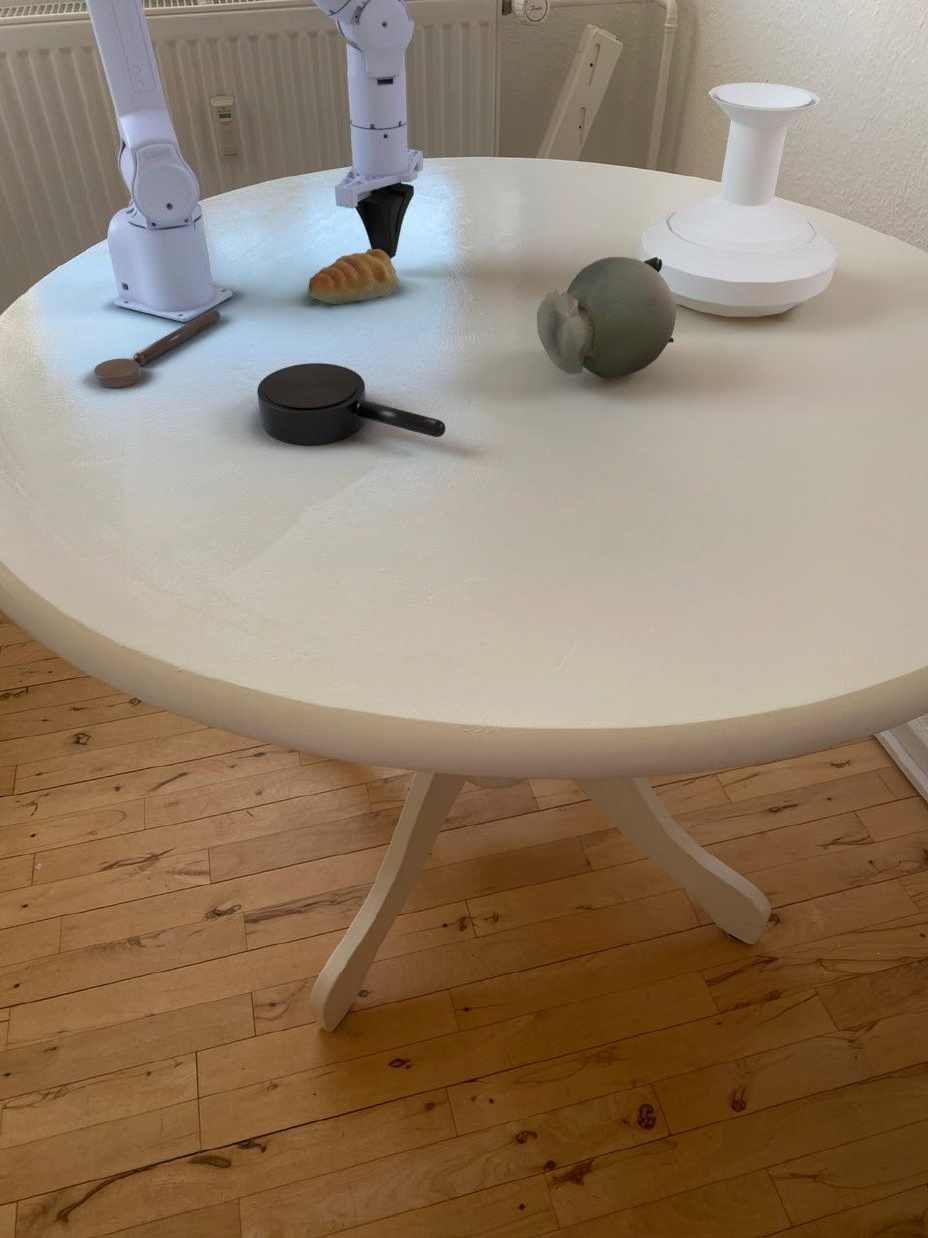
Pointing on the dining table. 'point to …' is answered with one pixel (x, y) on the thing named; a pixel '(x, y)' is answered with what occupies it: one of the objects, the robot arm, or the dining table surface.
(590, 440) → the dining table surface
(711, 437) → the dining table surface
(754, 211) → the candle holder
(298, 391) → the pan
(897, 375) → the dining table surface
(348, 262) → the pastry
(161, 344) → the spoon
